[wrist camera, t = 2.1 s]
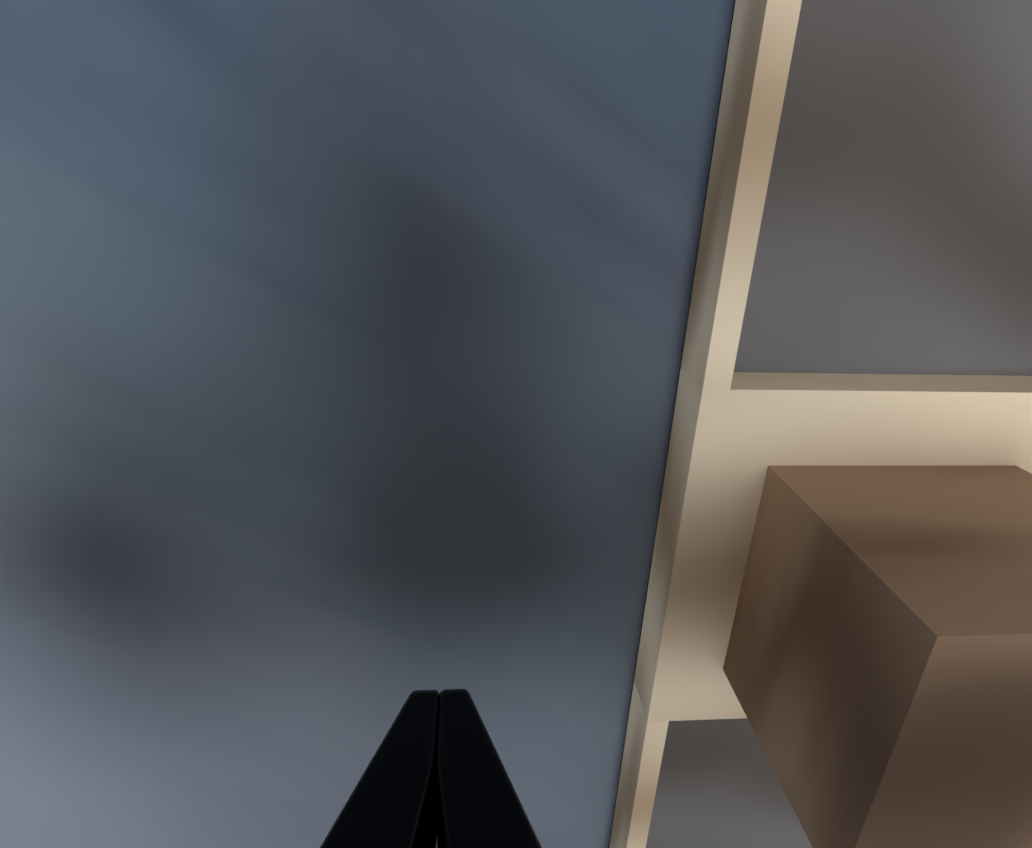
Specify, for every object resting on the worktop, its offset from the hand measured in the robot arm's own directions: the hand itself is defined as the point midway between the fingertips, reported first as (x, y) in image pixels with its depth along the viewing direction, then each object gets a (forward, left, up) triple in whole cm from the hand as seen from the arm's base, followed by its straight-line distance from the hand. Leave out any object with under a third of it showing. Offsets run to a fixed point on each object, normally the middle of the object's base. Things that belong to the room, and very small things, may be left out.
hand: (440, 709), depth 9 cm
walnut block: (0, -9, -3) cm, 9 cm away
